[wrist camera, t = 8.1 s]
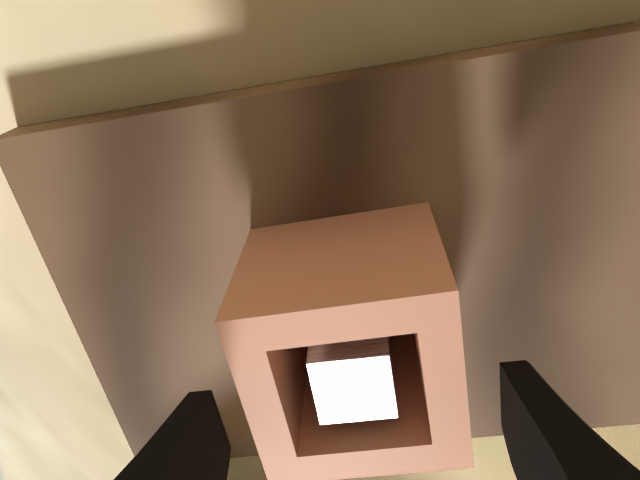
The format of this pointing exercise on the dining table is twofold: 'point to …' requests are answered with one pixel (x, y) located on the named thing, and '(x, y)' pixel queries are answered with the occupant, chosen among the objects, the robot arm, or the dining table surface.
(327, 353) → the post
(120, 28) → the dining table surface
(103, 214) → the board
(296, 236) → the collar
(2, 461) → the dining table surface
